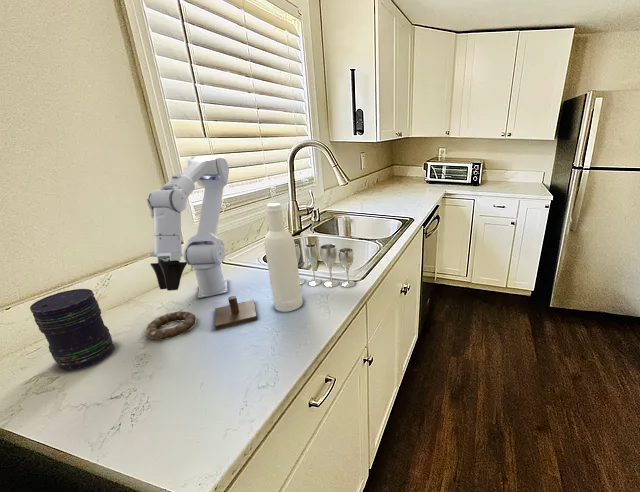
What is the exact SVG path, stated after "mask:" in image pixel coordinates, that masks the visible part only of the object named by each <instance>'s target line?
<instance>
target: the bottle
mask: <svg viewBox="0 0 640 492" xmlns="http://www.w3.org/2000/svg"><path fill="white" fill-rule="evenodd" d="M265 207H266V208H265V211H266V213H267V219H268V225H269V231H268V232H267V233H266V234H265V236H264V237H265V238H264V242H263V246H264V252H265V258H266V265H267V270H268V277H269V282H270V286H271V287H270V288H271V292H272V293H271V294H272V301H273V304H274V308H275V310H277V311H278V312H283V313H284V312H286V313H287V312H292V311H295V310H298V309H300V307H302V305H303V303H304V302H303V293H302V286H301V284H300V280H301V278H300V273H299V263H298V264H297V257H296V250H295V244H296V241H295V238H294V237H293V234H292V233H291V232H290V231H289V230H287V229H286V228H285V223H284V217H283V207H282V204H281V203H279V202H270V203H267V204H266V206H265Z"/></svg>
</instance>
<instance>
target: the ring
mask: <svg viewBox="0 0 640 492" xmlns="http://www.w3.org/2000/svg"><path fill="white" fill-rule="evenodd" d="M196 320H197V316H196V315H195V314H194V313H192V312H190V311H182V310H181V311H179V310H178V311H174V312H173V311H172V312H167V313H166V314H163V315H161V316H158V317H156V318H155V319H153V320H151V322H149V323H148V324H147V325H146V328H145V330H144V334H145V336H147V337H148V338H149V339H151V340H167V339H172V338H176V337H179V336H180V335H183V334H185V333H187V332H188V331H189V330H191V329H192V328H193V327H194V326H195V324H196ZM177 321H183V322H181V323H180V324H178V325H175V326H173V327H168V328H165V329H160V328H161V327H163V326H165V325H167V324H169V323H173V322H177Z"/></svg>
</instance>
